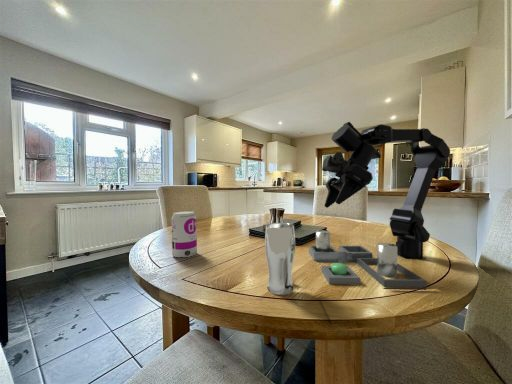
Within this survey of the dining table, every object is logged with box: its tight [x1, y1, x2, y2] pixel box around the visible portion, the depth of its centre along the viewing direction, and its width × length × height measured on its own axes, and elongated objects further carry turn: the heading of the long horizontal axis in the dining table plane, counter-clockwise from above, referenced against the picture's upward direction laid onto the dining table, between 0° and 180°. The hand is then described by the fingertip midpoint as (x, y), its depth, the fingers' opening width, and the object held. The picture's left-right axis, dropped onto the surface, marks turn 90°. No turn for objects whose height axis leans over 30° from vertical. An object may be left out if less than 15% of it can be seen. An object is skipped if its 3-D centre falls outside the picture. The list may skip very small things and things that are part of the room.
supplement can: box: [171, 210, 198, 258], centre depth 73 cm, size 8×8×15 cm
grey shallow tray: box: [308, 245, 373, 264], centre depth 67 cm, size 17×10×4 cm, turn 87°
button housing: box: [321, 265, 361, 285], centre depth 52 cm, size 7×7×2 cm
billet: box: [376, 242, 398, 279], centre depth 54 cm, size 4×4×8 cm
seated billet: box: [315, 230, 331, 252], centre depth 67 cm, size 4×4×8 cm
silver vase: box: [264, 222, 296, 296], centre depth 49 cm, size 7×7×15 cm
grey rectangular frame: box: [356, 257, 427, 291], centre depth 54 cm, size 9×14×2 cm, turn 177°
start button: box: [331, 263, 348, 275], centre depth 52 cm, size 4×4×2 cm
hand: (331, 205), depth 59 cm, fingers open, 9 cm apart
